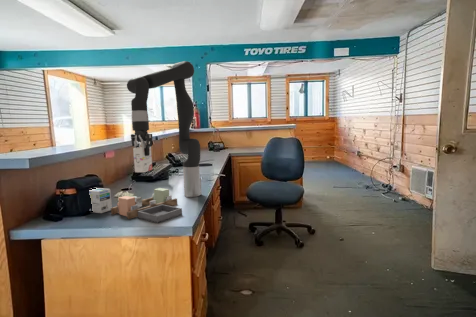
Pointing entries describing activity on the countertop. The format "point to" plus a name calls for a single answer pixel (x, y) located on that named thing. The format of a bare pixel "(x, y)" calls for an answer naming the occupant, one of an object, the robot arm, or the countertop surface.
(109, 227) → the countertop surface
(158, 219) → the tray
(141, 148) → the ink cartridge box
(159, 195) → the sage block
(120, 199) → the terracotta block
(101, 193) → the light bulb box
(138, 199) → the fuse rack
